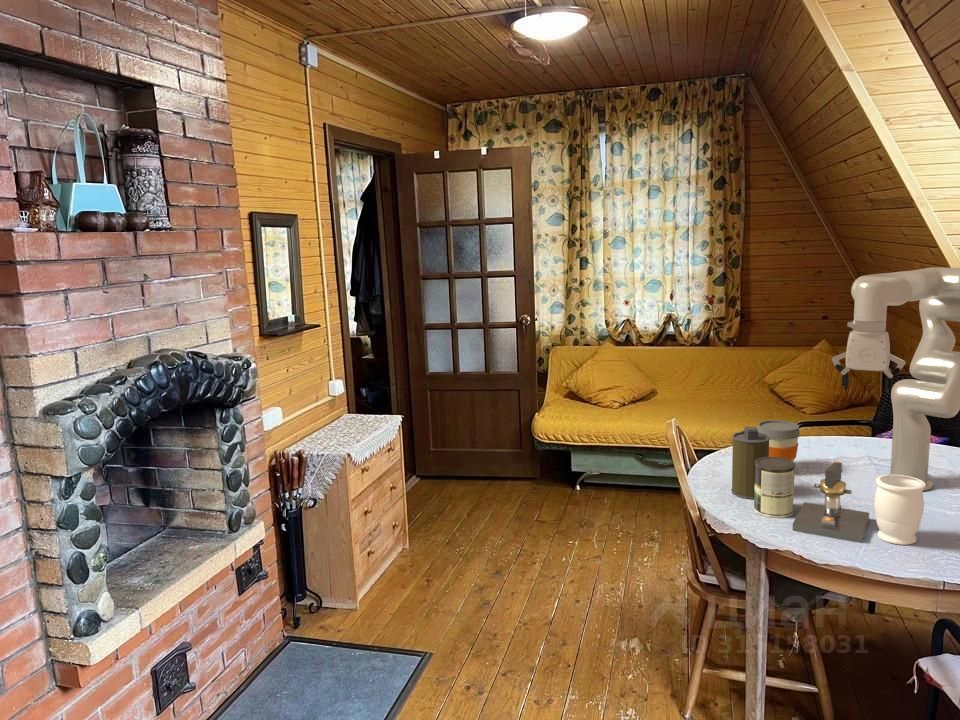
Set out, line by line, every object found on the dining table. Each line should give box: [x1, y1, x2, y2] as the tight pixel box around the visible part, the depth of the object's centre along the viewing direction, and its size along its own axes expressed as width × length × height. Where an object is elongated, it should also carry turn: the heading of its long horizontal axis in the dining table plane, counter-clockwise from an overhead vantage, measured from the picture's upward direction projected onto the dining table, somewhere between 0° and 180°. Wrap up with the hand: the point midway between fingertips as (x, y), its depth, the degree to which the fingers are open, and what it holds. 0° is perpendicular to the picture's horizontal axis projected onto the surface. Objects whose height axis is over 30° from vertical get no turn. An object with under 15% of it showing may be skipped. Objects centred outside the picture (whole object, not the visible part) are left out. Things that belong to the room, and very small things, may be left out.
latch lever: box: [814, 461, 853, 497], centre depth 187 cm, size 9×8×7 cm
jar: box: [873, 474, 925, 546], centre depth 179 cm, size 11×10×15 cm
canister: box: [730, 425, 770, 500], centre depth 212 cm, size 11×10×20 cm
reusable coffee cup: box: [756, 419, 800, 463], centre depth 230 cm, size 13×13×15 cm
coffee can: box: [753, 457, 796, 519], centre depth 199 cm, size 10×10×14 cm
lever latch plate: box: [792, 494, 870, 544], centre depth 188 cm, size 16×16×9 cm
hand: (866, 390), depth 193 cm, fingers open, 9 cm apart
